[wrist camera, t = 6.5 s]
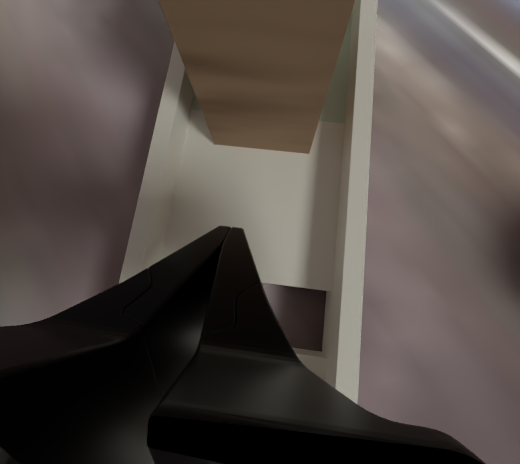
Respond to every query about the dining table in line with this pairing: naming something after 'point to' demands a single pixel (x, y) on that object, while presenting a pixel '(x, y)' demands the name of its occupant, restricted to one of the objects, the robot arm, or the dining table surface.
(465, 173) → the dining table surface
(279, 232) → the trap box
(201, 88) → the tan upright block
